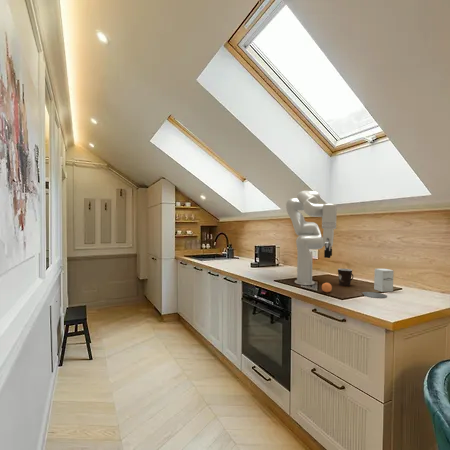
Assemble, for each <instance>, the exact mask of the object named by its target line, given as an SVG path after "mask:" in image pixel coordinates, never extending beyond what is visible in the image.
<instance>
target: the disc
mask: <svg viewBox="0 0 450 450" xmlns="http://www.w3.org/2000/svg"><path fill="white" fill-rule="evenodd" d="M361 293H363V294H364V296H363V297H367V298H373V299H387V298H388V295H387V294H384V293H382V292H381V293H380V292H376V291H375V292H373V291H363V292H361Z"/></svg>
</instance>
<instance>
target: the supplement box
mask: <svg viewBox="0 0 450 450" xmlns="http://www.w3.org/2000/svg"><path fill="white" fill-rule="evenodd" d="M394 272H395V271H394V270H392V269H389V268H374V275H373V276H374V277H373V278H374V279H373V282H374V283H373V285H374V286H373V287H374V288H373V290H375V291H379V292H381V293H384V292H387V293H388V292H389V293H390V292H391V293H392V292H394V274H395V273H394Z"/></svg>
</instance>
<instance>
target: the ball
mask: <svg viewBox="0 0 450 450" xmlns="http://www.w3.org/2000/svg"><path fill="white" fill-rule="evenodd" d="M332 289H333V286H332V284H331V283H330V282H323V283H322V285H321V290H322V291H323V292H324V293H330V292H331V291H332Z"/></svg>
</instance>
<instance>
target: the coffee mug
mask: <svg viewBox="0 0 450 450" xmlns="http://www.w3.org/2000/svg"><path fill="white" fill-rule="evenodd" d="M337 274H338V276H337V277H338V284H339V286H342V287H350V286H351V283H352V280H353V279H354V274H353V269H351V268H337Z"/></svg>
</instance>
